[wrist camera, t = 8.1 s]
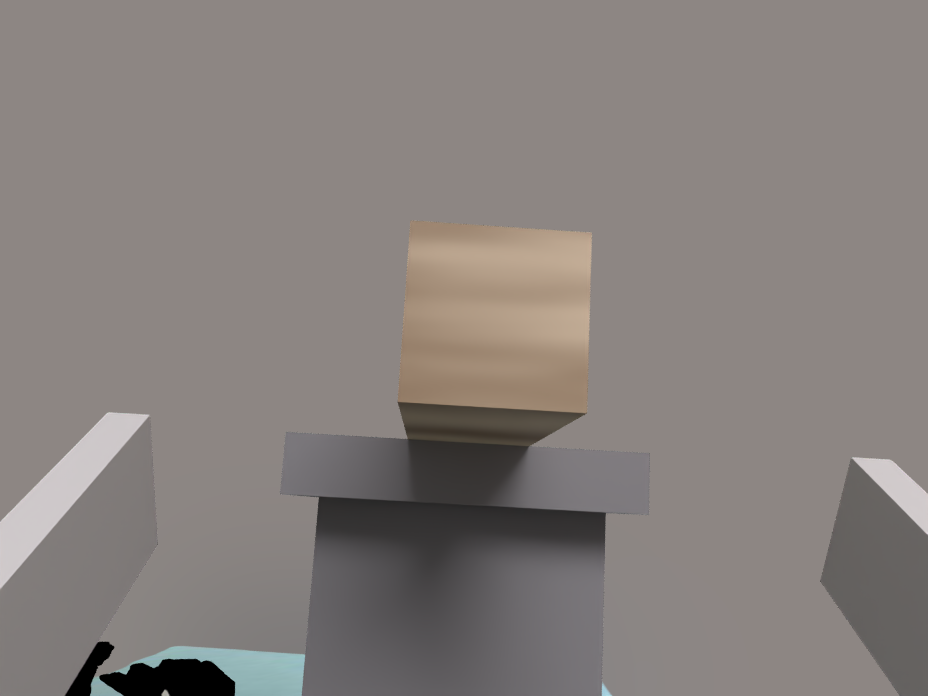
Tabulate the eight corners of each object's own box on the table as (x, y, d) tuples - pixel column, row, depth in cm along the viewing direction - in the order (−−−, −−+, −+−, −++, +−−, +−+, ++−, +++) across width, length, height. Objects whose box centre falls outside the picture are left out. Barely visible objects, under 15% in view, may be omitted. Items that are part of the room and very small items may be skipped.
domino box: (414, 463, 43) (419, 387, 44) (491, 467, 43) (495, 391, 44) (397, 401, 17) (410, 220, 18) (587, 413, 18) (591, 232, 18)
